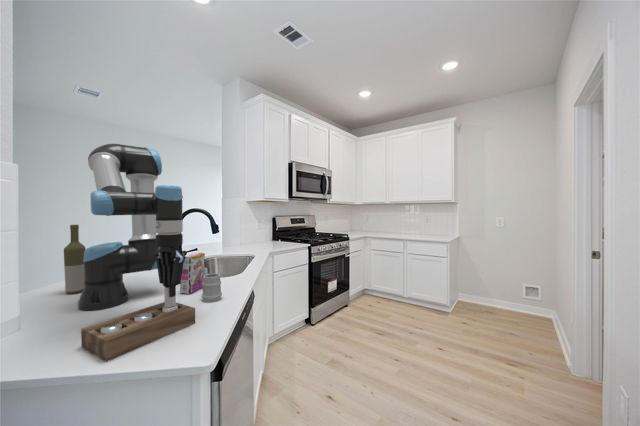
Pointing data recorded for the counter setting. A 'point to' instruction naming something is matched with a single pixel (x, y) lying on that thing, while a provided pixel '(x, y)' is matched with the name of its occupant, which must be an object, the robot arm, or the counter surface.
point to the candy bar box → (192, 273)
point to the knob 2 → (142, 317)
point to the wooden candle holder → (135, 330)
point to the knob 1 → (111, 328)
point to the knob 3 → (169, 308)
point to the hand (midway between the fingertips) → (170, 305)
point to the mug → (211, 287)
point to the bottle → (74, 263)
